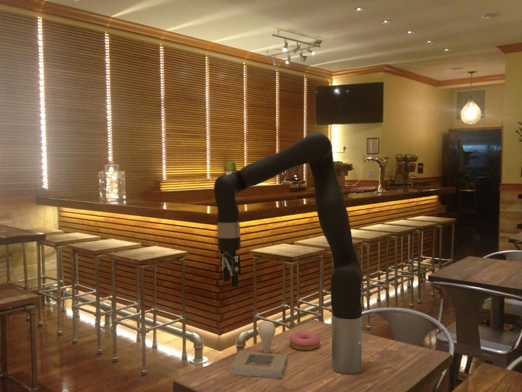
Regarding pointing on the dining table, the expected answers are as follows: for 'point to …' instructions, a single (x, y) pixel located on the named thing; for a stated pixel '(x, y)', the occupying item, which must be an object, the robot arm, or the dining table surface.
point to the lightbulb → (266, 334)
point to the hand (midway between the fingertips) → (230, 283)
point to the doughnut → (304, 340)
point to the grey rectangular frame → (274, 371)
